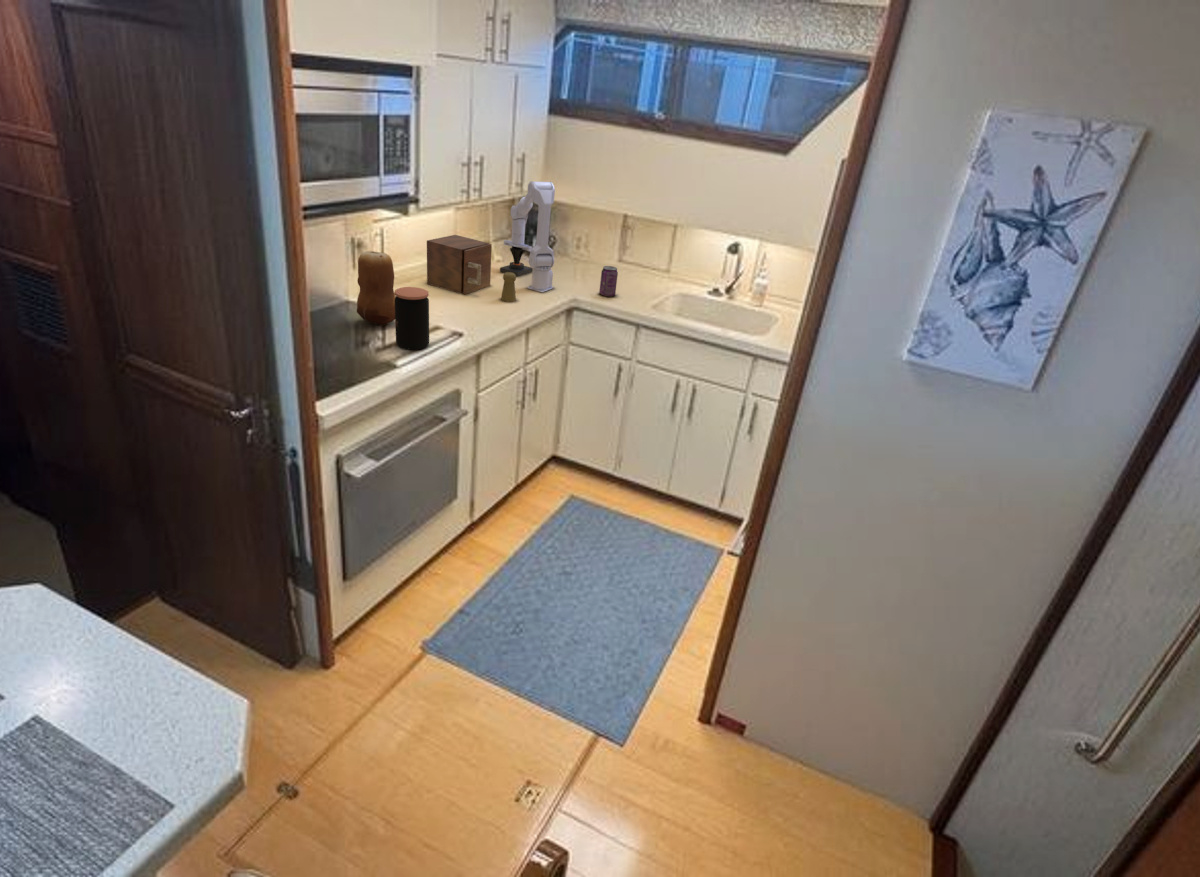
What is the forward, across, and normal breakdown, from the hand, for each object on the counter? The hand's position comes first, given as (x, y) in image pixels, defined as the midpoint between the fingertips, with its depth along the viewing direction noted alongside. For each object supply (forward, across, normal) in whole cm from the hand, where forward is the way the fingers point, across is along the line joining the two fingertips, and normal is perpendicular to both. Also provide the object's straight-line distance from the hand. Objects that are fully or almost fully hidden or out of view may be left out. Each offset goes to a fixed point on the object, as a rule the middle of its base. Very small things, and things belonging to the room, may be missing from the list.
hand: (516, 263), depth 318 cm
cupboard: (+4, -3, -36) cm, 37 cm away
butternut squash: (+4, +11, -94) cm, 94 cm away
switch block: (+4, 0, 0) cm, 4 cm away
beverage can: (+4, +47, +4) cm, 47 cm away
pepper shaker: (+4, +24, -36) cm, 43 cm away
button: (+2, 0, 0) cm, 2 cm away
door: (+4, +10, -35) cm, 37 cm away
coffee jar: (+4, +33, -100) cm, 105 cm away
